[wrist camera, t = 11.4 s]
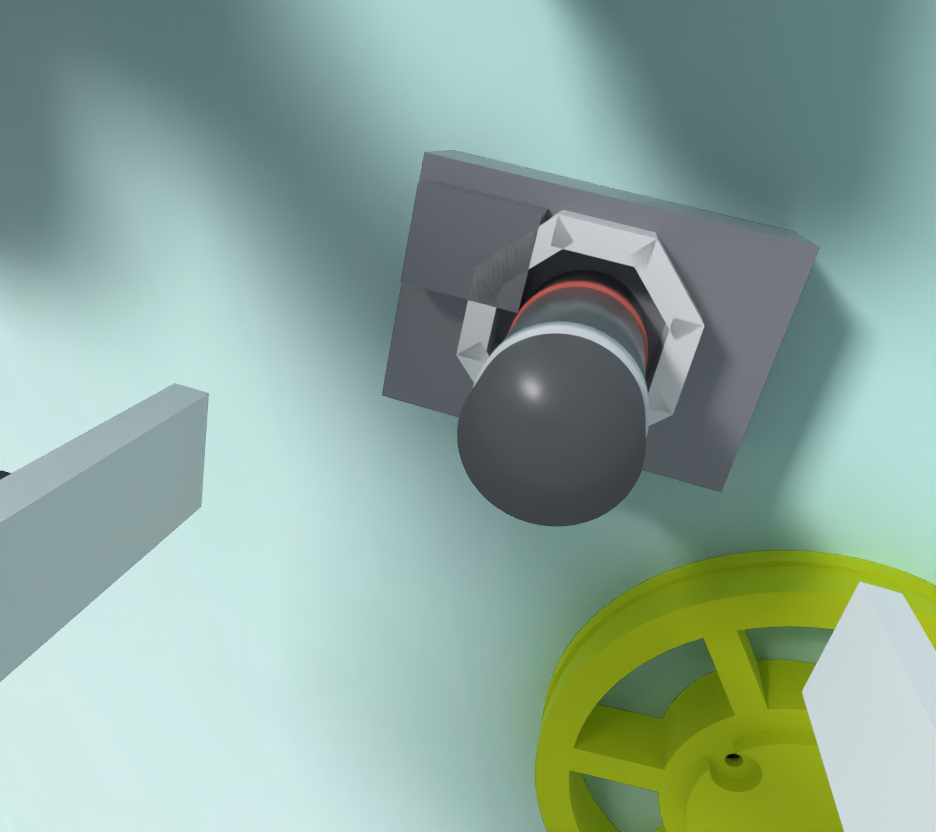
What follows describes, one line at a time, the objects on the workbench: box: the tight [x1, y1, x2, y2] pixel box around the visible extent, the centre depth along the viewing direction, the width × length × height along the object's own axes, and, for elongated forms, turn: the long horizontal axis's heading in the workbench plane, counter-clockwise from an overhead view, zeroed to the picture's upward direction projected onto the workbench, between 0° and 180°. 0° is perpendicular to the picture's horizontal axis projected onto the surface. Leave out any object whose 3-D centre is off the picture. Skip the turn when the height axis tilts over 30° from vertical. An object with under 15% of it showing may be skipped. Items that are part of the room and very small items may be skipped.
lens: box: [457, 270, 649, 526], centre depth 25 cm, size 5×5×12 cm
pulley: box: [535, 550, 936, 832], centre depth 40 cm, size 28×28×5 cm
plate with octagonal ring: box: [382, 150, 820, 492], centre depth 32 cm, size 16×11×7 cm
